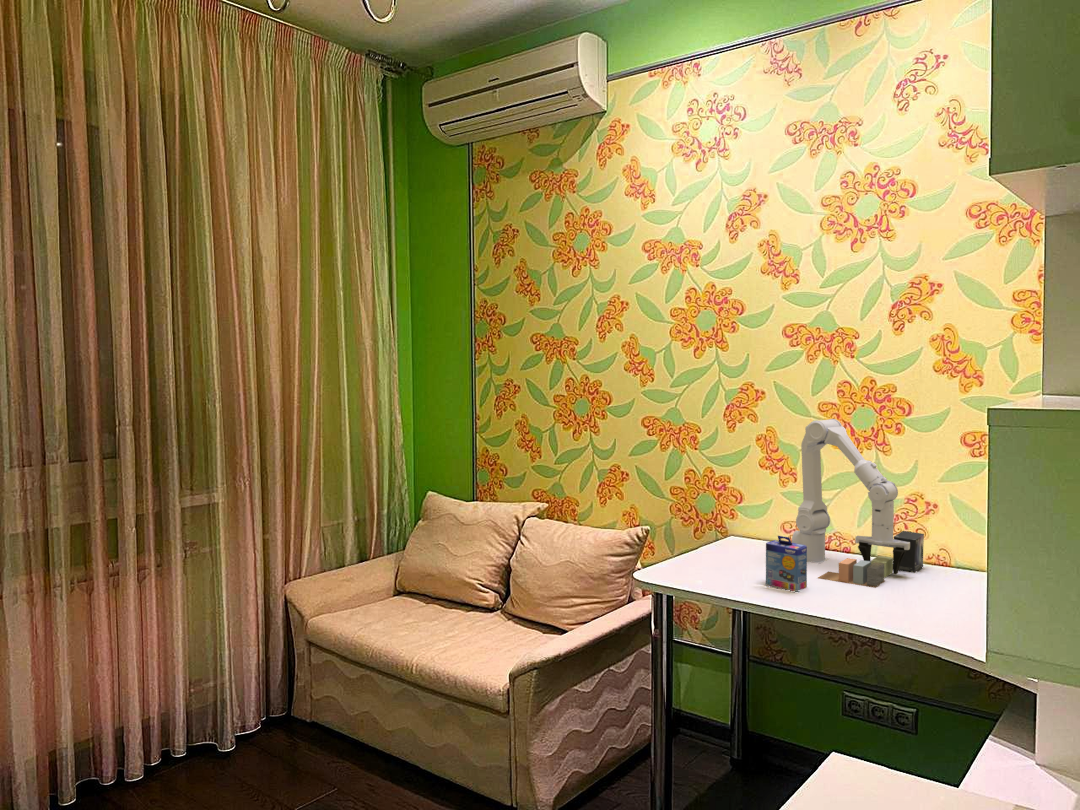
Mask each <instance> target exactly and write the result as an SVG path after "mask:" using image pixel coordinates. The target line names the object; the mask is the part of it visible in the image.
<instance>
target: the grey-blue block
mask: <svg viewBox="0 0 1080 810" xmlns="http://www.w3.org/2000/svg"><path fill="white" fill-rule="evenodd" d="M870 565H871V561H864V560H863V559H861V560H860V561H858V562H857V563H856V564H855V565H853V583H856V584H862V585H863V584H864V583H866V582H867V567H868V566H870Z"/></svg>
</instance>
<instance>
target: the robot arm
mask: <svg viewBox="0 0 1080 810" xmlns="http://www.w3.org/2000/svg"><path fill="white" fill-rule="evenodd" d="M827 445H830V446H836V447H837V448H838V449H839V451H840V452H841V453H842V454H843V455H844V456H845V457H846V458H847V459H848V461H849V462H850V463H851V464H852V465H853V466H854V470H853V472H854V474H855V476H856V477H857V478H858V479H859V480H860V482H861V483H862V484H863V486H864V487H865V488H866V489H867V490H868V492H867V496H868V498H869V500H870V501H871V513H872V514H871V536H867V535H856V536H855V538H854V539H855V544H858V546H857V549H858V550H859V553H860V554H861V556H862V560H864V561H871V560H872V558H871V556H872V555H871V554H872V547H873V546H878V547H886V548H896V549H894V550H893V549H892V558H894V567H893V573H892V574H894V575H897V574H899V571H898V570H899V566H900V563H901V560H902V558H903V556H904V554H905V552H906V551H907V550H909V549H910V542H905V541H900V540H895V539H894V523H895V522H894V520H895V518H894V514H895V510H894V508H895V507H894V506H895V505H894V504H895V500H896V499H897V498H898V495H899V490H898V487H897V486H896V483H894V482H893V481H890V480H888V478H887V477H885V476H884V475H883V474H882V473H881V471H880V470H879V469H878V465H877V464H876V463H875V462H872V461H871V460H867V459H865V458H864V456H863V455H862V453H861V452H860V451H859V449H858V448H857V447H856V445H855V444H854V441H852V439H851V438H850V437H849V435H848V433H847V430H846V428H845V427H844V426H843V425H842V423H841V421H839V420H837V419H836V418H829V419H820V420H813V421H811V422H810V423H809V424H807V425H806V426H805V432H804V435H803V439H802V441H801V450H800V451H801V468H802V469H801V470H802V472H801V473H802V475H801V476H802V493H803V494H802V495H803V496H802V497H803V499H802V503H801V504H800V505H799V507H798V509H797V511H798V512H797V516H796V519H795V523H796V528H797V529H798V530H794V532H793V534H792V536H791V543H796V544H801V545H806V546H807V563H812V564H818V565H819V564H823V563H825V562H827V561H829V560H830V558H829V557H826V532H827V528H828V527H829V526H830V524H831V517H830V515H829V512H828V506H827V504H826V503H824V501H823V489H822V485H823V484H822V463H821V461H822V460H821V450H822V449H823V448H824V447H825V446H827Z"/></svg>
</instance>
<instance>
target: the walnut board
mask: <svg viewBox="0 0 1080 810" xmlns="http://www.w3.org/2000/svg"><path fill="white" fill-rule="evenodd" d="M817 579H818V580H819V579H820V580H825V581H832V582H837V583H842V584H849V585H850V584H851V585H855V586H856V585H857V586H861V587H867V588H874V589H876V588H878V587H879V586H881V585H882V584H884V583H885V582H886V580H885V579H884V581H883V582H882V583H881V584H879V585H878V586H876V587H874V586H868V585H867V582H866V583H864V584H863V585H862V584H856V583H853V579H852V580H851V581H849V582H844V581H839V572H834V571H827V572H825V573H823V574H821V575H819V577H817Z"/></svg>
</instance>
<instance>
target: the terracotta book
mask: <svg viewBox="0 0 1080 810" xmlns="http://www.w3.org/2000/svg"><path fill="white" fill-rule="evenodd" d="M856 563H858V562H857V559H855V558H850V557H847V558H845V559H843V560H842V561H839V562H838V573H839V581H844V582H849V581H851V580H852V579H853V565H855V564H856Z"/></svg>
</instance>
